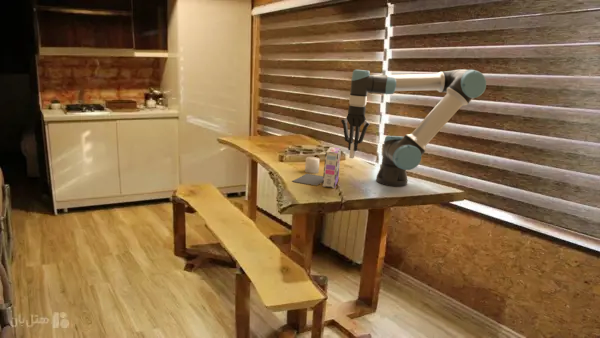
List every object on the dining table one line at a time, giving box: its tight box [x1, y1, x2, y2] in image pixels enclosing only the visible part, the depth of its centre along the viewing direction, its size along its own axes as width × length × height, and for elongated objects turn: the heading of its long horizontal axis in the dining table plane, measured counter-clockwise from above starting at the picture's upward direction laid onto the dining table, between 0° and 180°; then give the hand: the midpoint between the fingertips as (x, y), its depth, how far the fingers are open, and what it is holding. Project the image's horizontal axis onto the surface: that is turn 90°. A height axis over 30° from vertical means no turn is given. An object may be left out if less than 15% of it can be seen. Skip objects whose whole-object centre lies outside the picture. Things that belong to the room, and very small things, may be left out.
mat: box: [291, 173, 323, 187], centre depth 221 cm, size 12×18×1 cm, turn 157°
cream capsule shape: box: [304, 156, 320, 174], centre depth 236 cm, size 7×7×7 cm
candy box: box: [322, 146, 342, 189], centre depth 214 cm, size 14×6×16 cm, turn 168°
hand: (351, 157), depth 210 cm, fingers closed
